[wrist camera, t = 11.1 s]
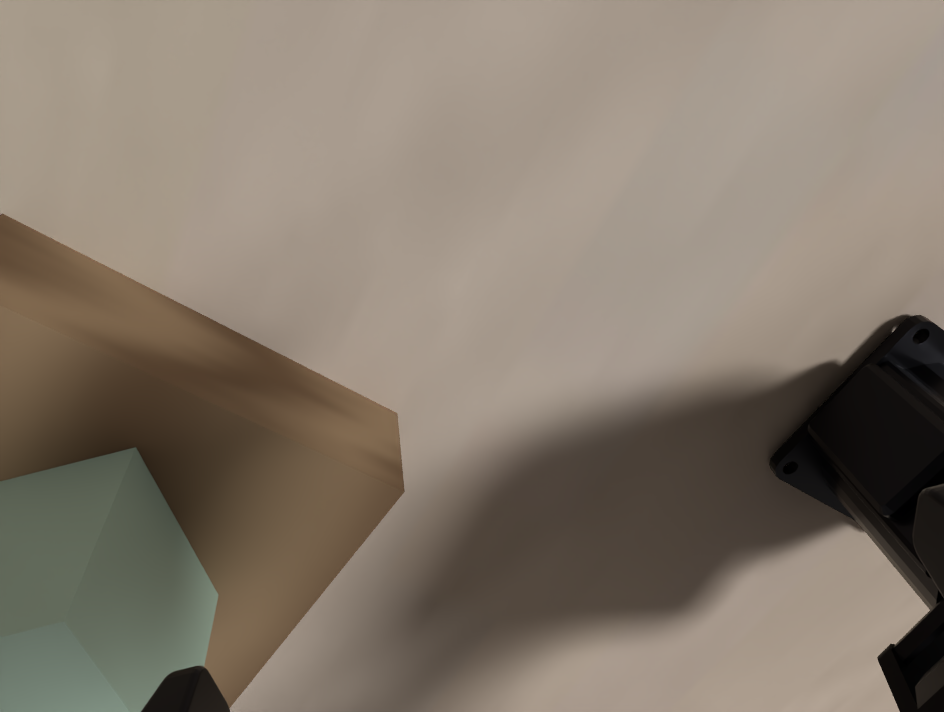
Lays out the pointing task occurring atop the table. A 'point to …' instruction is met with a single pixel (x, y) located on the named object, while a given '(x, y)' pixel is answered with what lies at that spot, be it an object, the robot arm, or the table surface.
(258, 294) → the table surface
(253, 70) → the table surface
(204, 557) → the walnut block
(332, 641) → the table surface
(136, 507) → the sage block
